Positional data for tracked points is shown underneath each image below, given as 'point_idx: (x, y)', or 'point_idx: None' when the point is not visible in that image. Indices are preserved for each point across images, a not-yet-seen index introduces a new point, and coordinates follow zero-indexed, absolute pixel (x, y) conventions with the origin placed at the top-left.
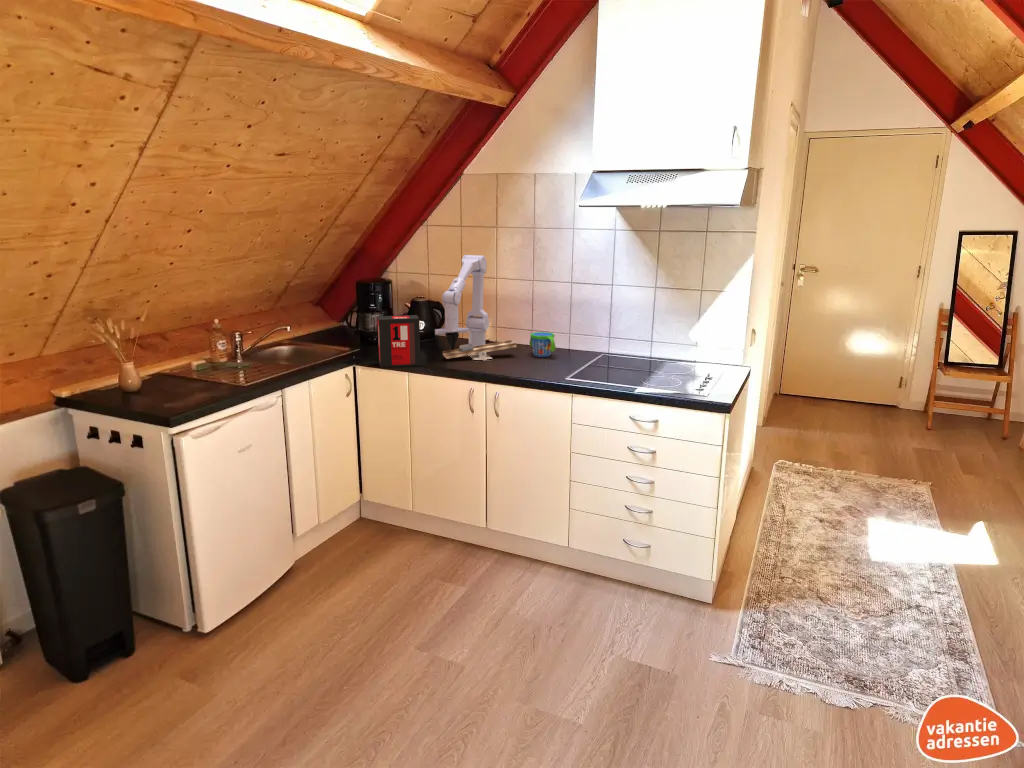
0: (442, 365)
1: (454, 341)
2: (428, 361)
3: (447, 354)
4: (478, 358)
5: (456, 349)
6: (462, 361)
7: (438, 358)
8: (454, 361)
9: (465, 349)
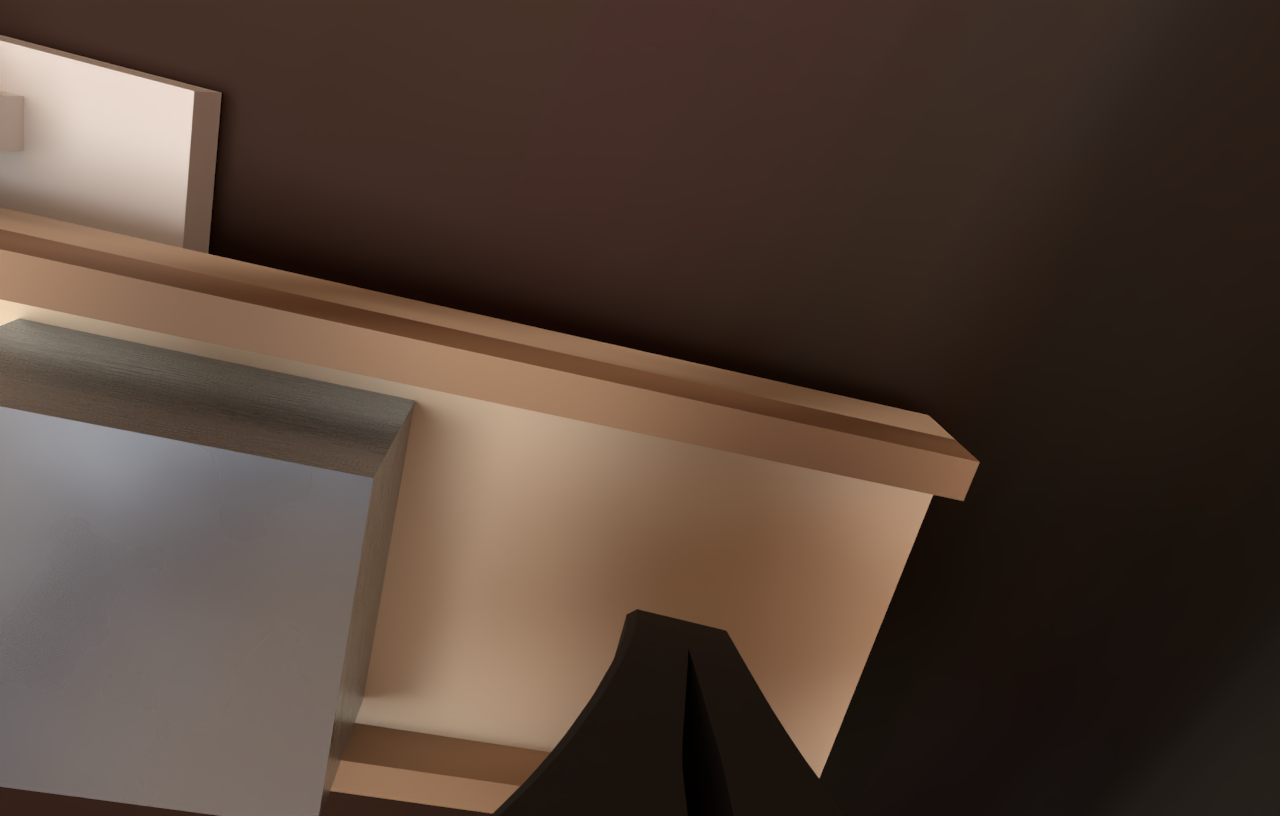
0: (1256, 66)
1: (629, 792)
2: (1233, 634)
3: (929, 473)
4: (53, 125)
5: (437, 777)
6: (535, 227)
7: (871, 763)
8: (717, 333)
9: (271, 420)
